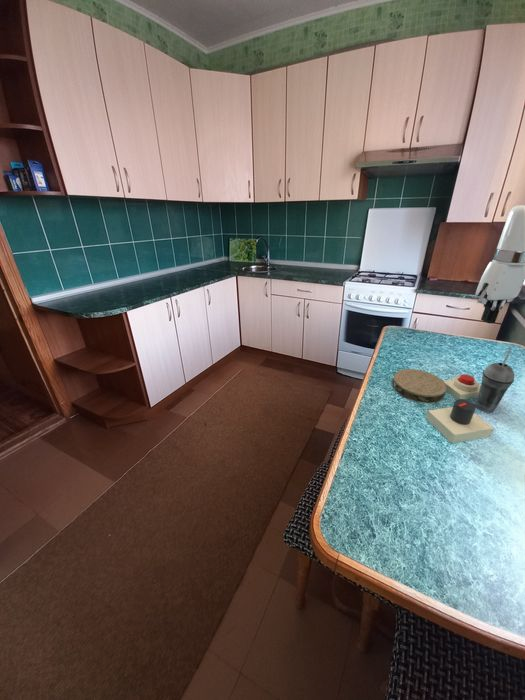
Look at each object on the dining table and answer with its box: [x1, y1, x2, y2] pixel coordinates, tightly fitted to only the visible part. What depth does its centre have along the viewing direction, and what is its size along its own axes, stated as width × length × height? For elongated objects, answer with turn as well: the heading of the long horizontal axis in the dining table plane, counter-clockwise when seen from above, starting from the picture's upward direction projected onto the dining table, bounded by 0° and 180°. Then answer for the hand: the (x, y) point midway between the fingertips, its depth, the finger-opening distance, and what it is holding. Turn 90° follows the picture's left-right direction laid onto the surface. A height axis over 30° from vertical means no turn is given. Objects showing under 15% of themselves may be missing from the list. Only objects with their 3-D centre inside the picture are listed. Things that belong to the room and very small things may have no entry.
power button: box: [459, 373, 476, 385], centre depth 94 cm, size 4×4×2 cm
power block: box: [443, 375, 481, 400], centre depth 96 cm, size 10×8×4 cm
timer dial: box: [450, 398, 477, 425], centre depth 79 cm, size 5×5×5 cm
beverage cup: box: [475, 348, 515, 414], centre depth 84 cm, size 7×7×20 cm
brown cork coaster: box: [391, 368, 447, 404], centre depth 97 cm, size 16×16×3 cm
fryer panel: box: [425, 406, 495, 444], centre depth 81 cm, size 12×10×3 cm
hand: (487, 321), depth 85 cm, fingers closed
